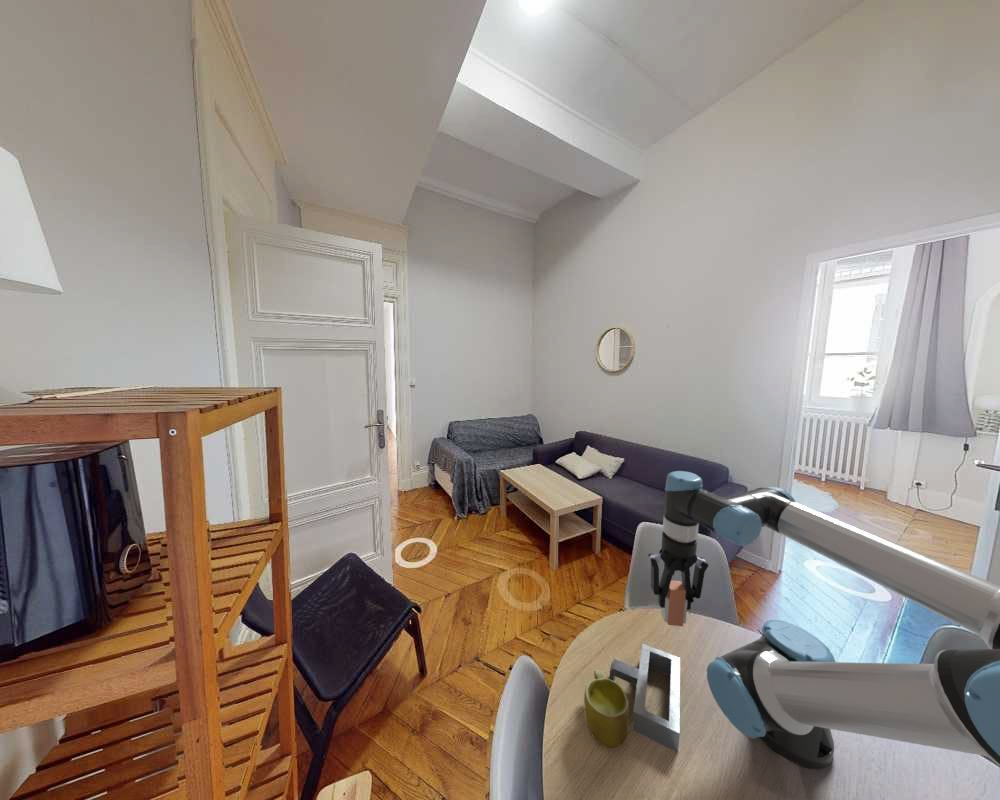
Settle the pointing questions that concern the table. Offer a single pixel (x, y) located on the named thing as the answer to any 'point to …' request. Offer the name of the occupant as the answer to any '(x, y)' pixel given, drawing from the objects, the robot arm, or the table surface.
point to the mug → (606, 711)
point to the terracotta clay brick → (676, 603)
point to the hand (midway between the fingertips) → (673, 618)
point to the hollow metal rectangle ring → (643, 719)
